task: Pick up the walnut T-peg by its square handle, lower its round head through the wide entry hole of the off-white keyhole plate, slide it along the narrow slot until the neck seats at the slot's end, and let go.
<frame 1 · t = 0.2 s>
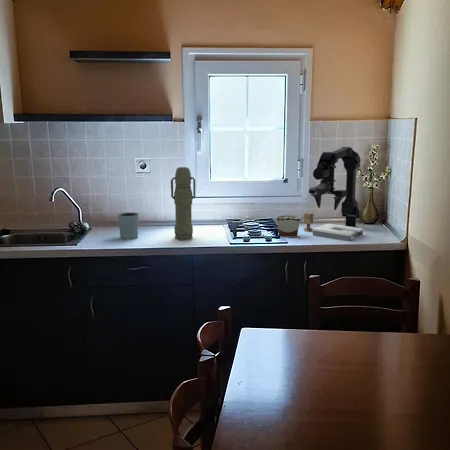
hand: (326, 209, 264), 14 cm above the table, tool pointing down, fingers open, 9 cm apart
T-peg: (308, 230, 281), on the table
keyhole plate: (337, 235, 271), on the table
thermos: (183, 238, 264), on the table
green plant pot: (129, 238, 264), on the table
food container: (287, 235, 271), on the table
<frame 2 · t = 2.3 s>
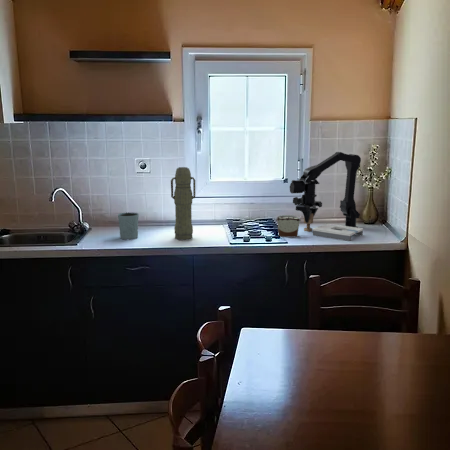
hand: (308, 221, 280), 5 cm above the table, tool pointing down, fingers closed on T-peg, 3 cm apart
T-peg: (308, 230, 281), on the table, touching gripper
everything else where it was.
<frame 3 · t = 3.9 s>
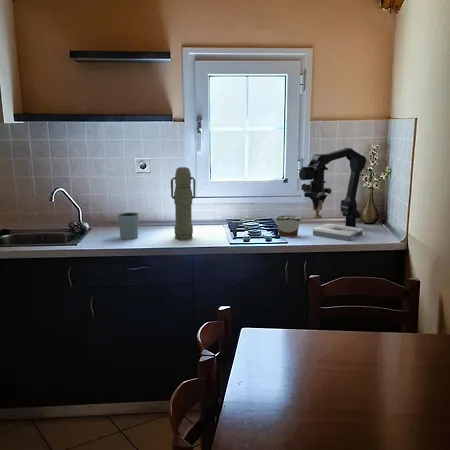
hand: (317, 208, 276), 12 cm above the table, tool pointing down, fingers closed on T-peg, 3 cm apart
T-peg: (317, 217, 277), point 8 cm above the table, touching gripper
everything else where it was.
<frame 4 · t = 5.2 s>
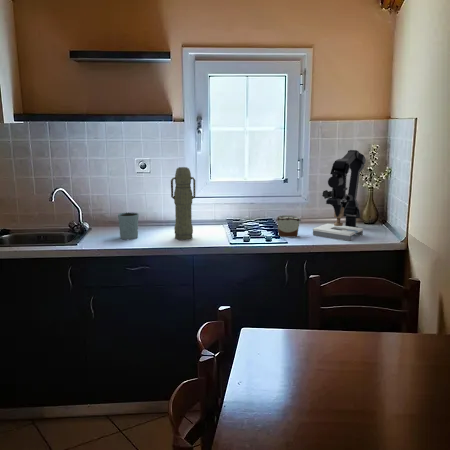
hand: (338, 216, 269), 10 cm above the table, tool pointing down, fingers closed on T-peg, 3 cm apart
T-peg: (338, 225, 270), point 5 cm above the table, touching gripper
everything else where it was.
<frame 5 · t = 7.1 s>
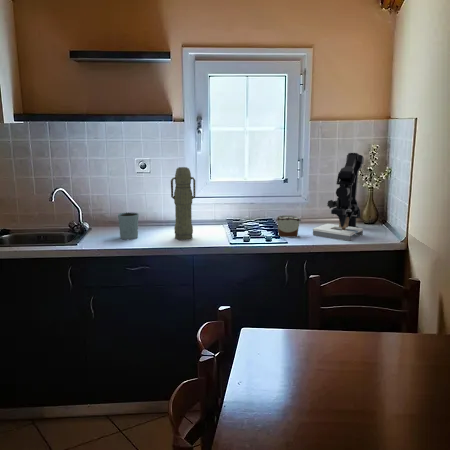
hand: (343, 226, 268), 5 cm above the table, tool pointing down, fingers closed on T-peg, 3 cm apart
T-peg: (343, 235, 269), resting in keyhole plate, touching gripper
everything else where it was.
when the fingers open (5 cm above the table, at t = 8.3 s): T-peg stays where it is, resting in keyhole plate.
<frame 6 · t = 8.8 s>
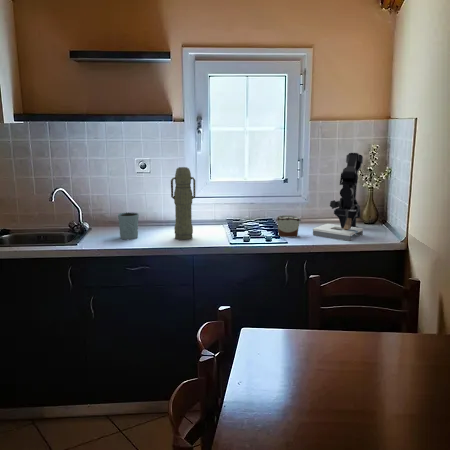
hand: (346, 226, 268), 5 cm above the table, tool pointing down, fingers open, 9 cm apart
T-peg: (345, 236, 269), resting in keyhole plate
everything else where it was.
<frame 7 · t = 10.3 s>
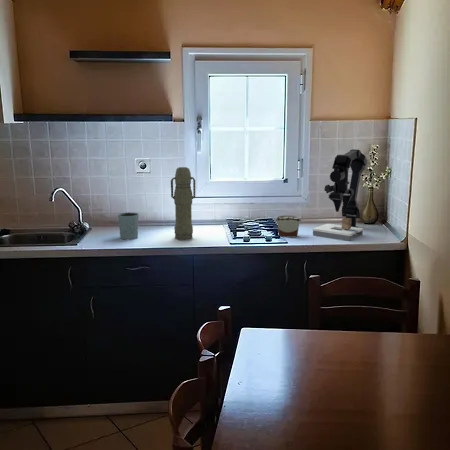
hand: (340, 210, 271), 12 cm above the table, tool pointing down, fingers open, 9 cm apart
nothing on the table moved.
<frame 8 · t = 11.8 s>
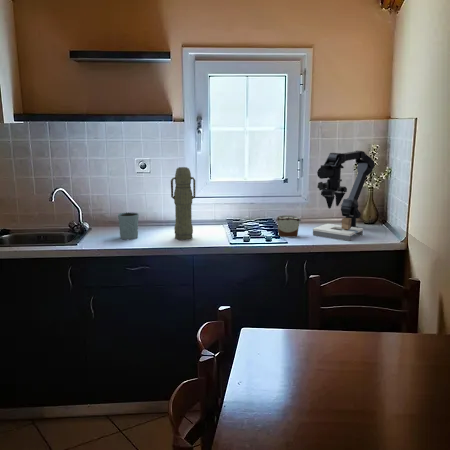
hand: (333, 207, 277), 13 cm above the table, tool pointing down, fingers open, 9 cm apart
nothing on the table moved.
at the end: T-peg 0.0 cm from the target spot on the keyhole plate, point 0.0 cm above the keyhole plate's base; T-peg tilted 1°; the gripper is holding nothing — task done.
